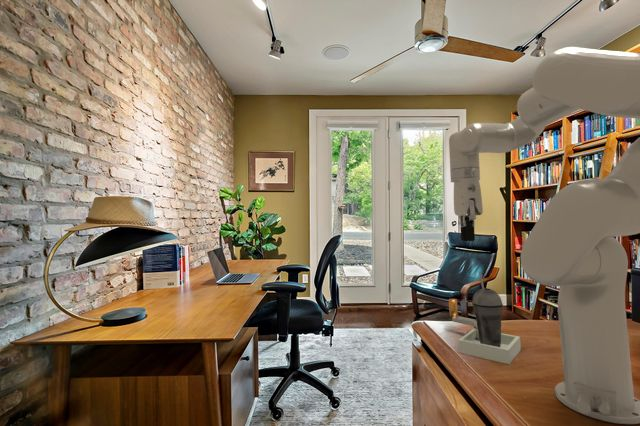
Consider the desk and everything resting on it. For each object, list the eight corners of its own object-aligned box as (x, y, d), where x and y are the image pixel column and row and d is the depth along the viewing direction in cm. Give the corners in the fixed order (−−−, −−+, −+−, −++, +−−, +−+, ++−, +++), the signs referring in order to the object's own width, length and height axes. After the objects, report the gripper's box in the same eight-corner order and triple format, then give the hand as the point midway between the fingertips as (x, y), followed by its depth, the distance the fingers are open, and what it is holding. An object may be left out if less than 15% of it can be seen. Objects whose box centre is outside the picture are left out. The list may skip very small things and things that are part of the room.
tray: (509, 364, 74) (508, 350, 74) (459, 352, 82) (458, 339, 82) (521, 349, 82) (520, 336, 82) (474, 339, 90) (473, 328, 90)
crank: (495, 327, 90) (494, 304, 90) (487, 331, 87) (485, 307, 88) (455, 318, 100) (453, 297, 101) (446, 321, 98) (444, 300, 98)
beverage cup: (511, 354, 78) (504, 273, 79) (479, 353, 79) (473, 274, 80) (500, 343, 85) (494, 269, 86) (471, 342, 86) (466, 270, 87)
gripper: (489, 171, 80) (493, 242, 79) (469, 178, 95) (472, 238, 94) (459, 173, 81) (462, 243, 80) (444, 179, 96) (446, 239, 95)
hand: (467, 240), depth 87 cm, fingers closed
